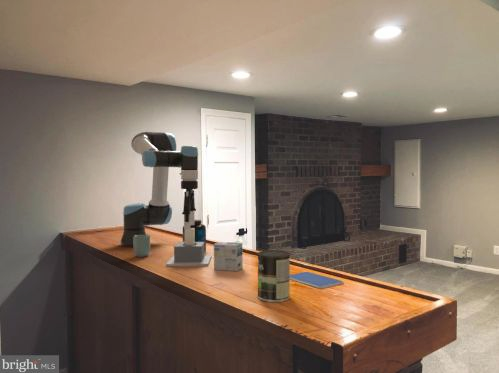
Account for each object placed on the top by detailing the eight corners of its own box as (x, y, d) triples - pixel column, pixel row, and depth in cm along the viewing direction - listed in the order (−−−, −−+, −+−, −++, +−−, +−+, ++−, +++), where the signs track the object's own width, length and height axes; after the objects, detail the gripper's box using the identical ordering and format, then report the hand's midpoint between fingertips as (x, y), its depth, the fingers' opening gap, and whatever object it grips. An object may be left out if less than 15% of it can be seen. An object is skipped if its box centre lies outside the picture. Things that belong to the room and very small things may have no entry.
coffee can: (259, 303, 117) (259, 256, 117) (256, 293, 127) (256, 250, 127) (293, 302, 118) (293, 256, 117) (286, 292, 128) (286, 249, 128)
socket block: (173, 257, 184) (173, 241, 184) (211, 257, 184) (211, 240, 184) (165, 266, 166) (165, 247, 166) (207, 266, 166) (207, 247, 166)
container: (178, 252, 196) (178, 221, 195) (190, 249, 207) (190, 218, 206) (198, 254, 191) (198, 222, 191) (210, 250, 202) (210, 219, 202)
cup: (145, 258, 183) (145, 237, 183) (130, 257, 185) (130, 236, 184) (153, 255, 191) (152, 234, 190) (138, 254, 192) (138, 234, 192)
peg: (186, 258, 177) (185, 228, 177) (194, 258, 177) (194, 228, 177) (184, 260, 173) (184, 229, 173) (193, 260, 173) (193, 229, 173)
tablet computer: (283, 278, 147) (283, 275, 147) (307, 274, 154) (307, 270, 154) (320, 290, 131) (320, 287, 131) (344, 284, 139) (344, 281, 139)
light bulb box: (243, 268, 163) (243, 242, 162) (237, 271, 156) (237, 245, 156) (219, 266, 166) (219, 241, 166) (213, 269, 160) (213, 243, 160)
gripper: (185, 179, 187) (185, 223, 187) (176, 180, 162) (176, 231, 162) (200, 179, 187) (200, 223, 187) (194, 180, 162) (194, 231, 162)
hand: (189, 227), depth 175 cm, fingers open, 13 cm apart
